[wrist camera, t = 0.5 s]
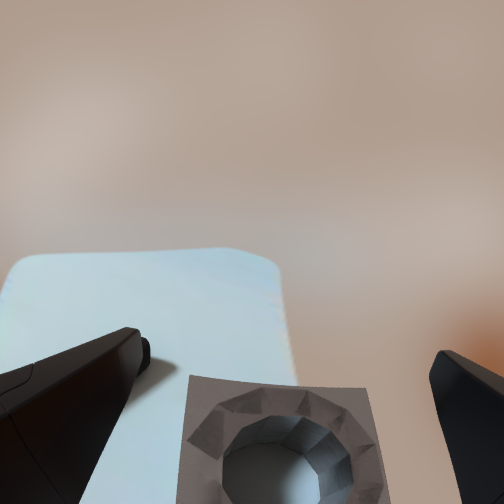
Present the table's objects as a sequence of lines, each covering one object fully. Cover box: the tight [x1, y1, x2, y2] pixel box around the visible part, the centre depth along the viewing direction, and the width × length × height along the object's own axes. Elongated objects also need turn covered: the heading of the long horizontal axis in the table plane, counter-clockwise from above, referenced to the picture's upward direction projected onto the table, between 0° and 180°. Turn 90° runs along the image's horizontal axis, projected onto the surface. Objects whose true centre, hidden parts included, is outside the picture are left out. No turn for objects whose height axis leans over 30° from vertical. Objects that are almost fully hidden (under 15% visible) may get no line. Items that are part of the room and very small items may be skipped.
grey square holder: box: [176, 375, 391, 504], centre depth 15 cm, size 12×12×5 cm
